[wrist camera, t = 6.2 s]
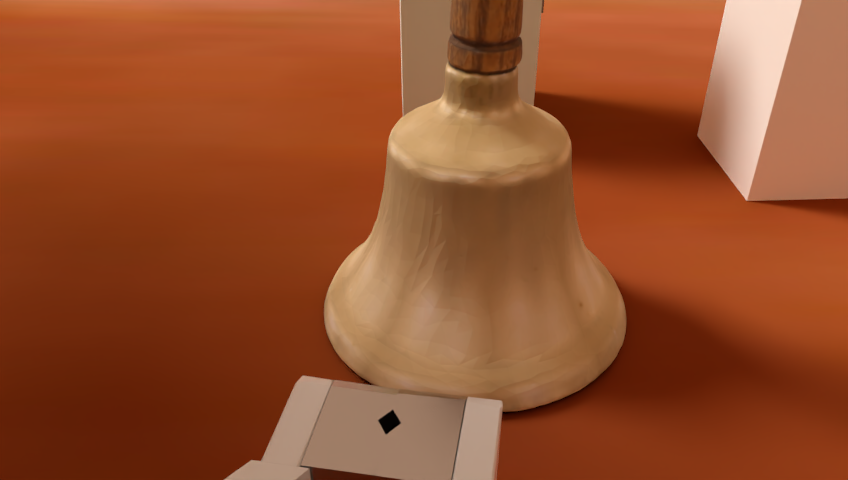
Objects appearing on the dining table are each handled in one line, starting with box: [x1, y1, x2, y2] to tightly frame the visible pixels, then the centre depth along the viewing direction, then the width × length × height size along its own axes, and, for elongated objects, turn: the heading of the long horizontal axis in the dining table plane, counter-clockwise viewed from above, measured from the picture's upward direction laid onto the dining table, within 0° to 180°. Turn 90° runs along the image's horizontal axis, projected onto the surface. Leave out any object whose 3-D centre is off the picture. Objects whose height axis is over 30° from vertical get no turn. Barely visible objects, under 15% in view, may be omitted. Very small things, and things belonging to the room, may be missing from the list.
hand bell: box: [324, 0, 626, 412], centre depth 17 cm, size 8×8×16 cm
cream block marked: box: [697, 0, 848, 201], centre depth 25 cm, size 5×5×10 cm
